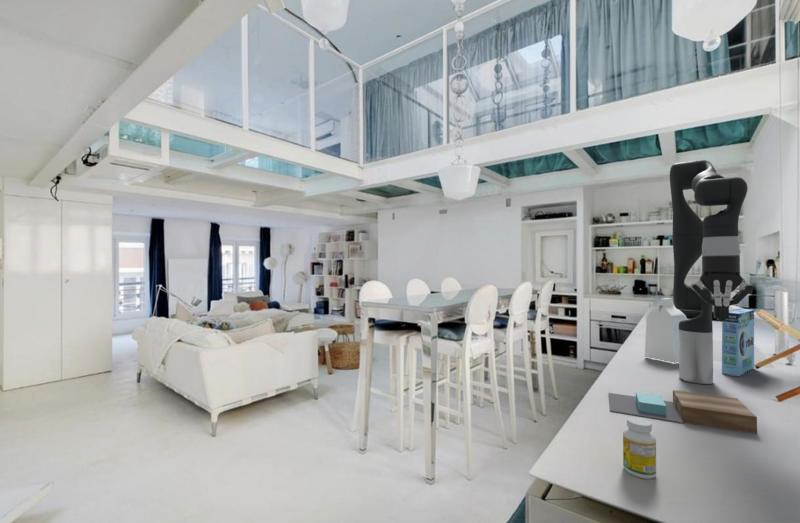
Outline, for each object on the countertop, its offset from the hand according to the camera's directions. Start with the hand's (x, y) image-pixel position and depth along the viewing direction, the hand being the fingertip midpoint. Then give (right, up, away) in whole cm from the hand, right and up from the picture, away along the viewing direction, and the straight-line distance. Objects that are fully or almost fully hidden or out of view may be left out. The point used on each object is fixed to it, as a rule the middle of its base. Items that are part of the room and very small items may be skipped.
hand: (721, 320), depth 97 cm
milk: (+29, -27, +59) cm, 71 cm away
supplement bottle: (-38, -25, -26) cm, 53 cm away
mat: (-17, -25, +6) cm, 31 cm away
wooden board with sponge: (-3, -25, -1) cm, 26 cm away
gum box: (+44, -26, +42) cm, 66 cm away
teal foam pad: (-15, -24, +5) cm, 29 cm away
